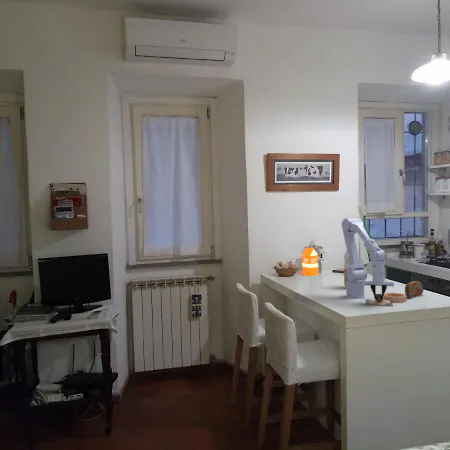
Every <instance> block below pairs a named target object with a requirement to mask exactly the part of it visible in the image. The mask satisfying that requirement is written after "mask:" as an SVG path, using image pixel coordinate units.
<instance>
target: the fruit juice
mask: <svg viewBox="0 0 450 450" xmlns="http://www.w3.org/2000/svg"><path fill="white" fill-rule="evenodd" d="M358 256H359V260H360V258H361V257H360V254H359V253H358ZM343 259H344V264H343V281H344V282H343V283H344V285H343V286H344V289H346V290H347V281H349V280H348V278H347V268H348V267H349V265H350V262H349V257H348V253H347V250H346V251H345V254H344V255H343ZM353 270H356V269H353Z"/></svg>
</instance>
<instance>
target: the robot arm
mask: <svg viewBox="0 0 450 450" xmlns="http://www.w3.org/2000/svg"><path fill="white" fill-rule="evenodd" d="M341 229H342V234H343V238H344V243H345V247H346V251H347V253H348V257H349V262H350V265H349V267H348V268H347V278H348V280H349V281H347V289H346V292H345V294H346V299H360V300H361V299H365V300H366V294H365V287H366V286H370V287H369V288H370V289H371V291H372V293H373V296H374V297H373V299H375V300H376V294H377V293H376V287H381V300H383V299H384V294H385V293H386V290H387V289H388V287H393V288H394V286H395V283H394V281H385V261H386V260H387V256H388V254H387V253H386V251H385V250H384V249H382V248H380V247H379V245H378V244H377V242H376V240H375V239H374V238H370V236H369V233H368V232H367V230H366V229H365V226H364V221H363V220H362V218H361V217H351V218H350V217H349V218H348V217H347V218H346V217H345V218H343V220H342V222H341ZM356 233H357V235H359V237H360V238H361V239H362V241H363V242H364V243H363V246H364V248H365V249H366V250H367V252H368V253H369V260H370V261H371V262H370V263H371V265H372V267H371V268H372V270H371V271H372V275H371V276H372V280H367V279H368V271H367V270H366V268H365V266H364V265H363V264H362V263H361V262H360V259H359V257H360V255H359V256H358V254H359V252H358V248H357V243H356V238H355V235H356ZM353 269H356V270H353Z"/></svg>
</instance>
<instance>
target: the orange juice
mask: <svg viewBox="0 0 450 450" xmlns="http://www.w3.org/2000/svg"><path fill="white" fill-rule="evenodd" d="M304 249H305V250H304V251H303V252H302V256H301V258H302V260H301V261H302V263H301V264H302V275H303V274H304V276H309V277H312V276H318V275H319V255H318V253H317V251H316V250H315V248H314V247H305V248H304Z"/></svg>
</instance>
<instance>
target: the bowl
mask: <svg viewBox="0 0 450 450" xmlns="http://www.w3.org/2000/svg"><path fill="white" fill-rule="evenodd" d="M383 299H385V300H389V301H390V302H392V303H393V304H394V303H395V304H396V303H406V302H407V301H408V300H407V296H406V295H405V293H399V292H385V293H384V296H383Z"/></svg>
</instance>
